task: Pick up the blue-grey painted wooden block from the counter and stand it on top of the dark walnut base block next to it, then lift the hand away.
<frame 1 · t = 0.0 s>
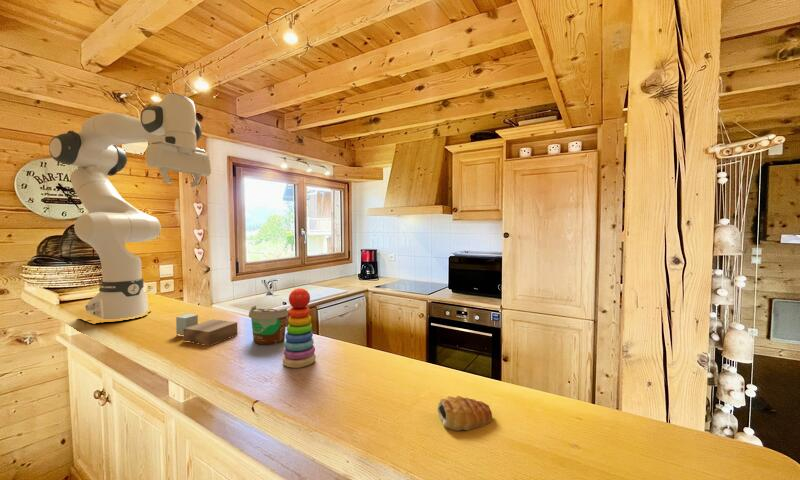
hand: (181, 185, 108), 48 cm above the worktop, tool pointing down, fingers open, 8 cm apart
walnut base: (211, 338, 97), on the worktop
blue-grey block: (187, 334, 101), on the worktop
pastry: (461, 421, 57), on the worktop
stacking toy: (299, 363, 80), on the worktop
food container: (264, 343, 94), on the worktop
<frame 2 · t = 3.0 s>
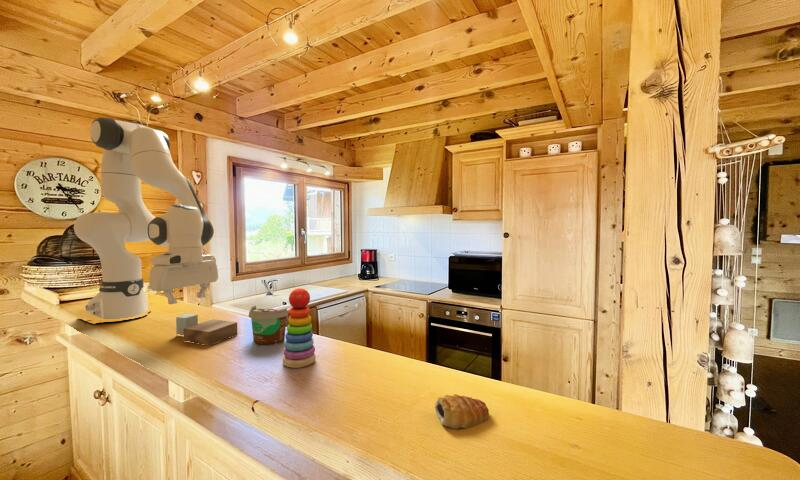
hand: (187, 300, 100), 11 cm above the worktop, tool pointing down, fingers open, 8 cm apart
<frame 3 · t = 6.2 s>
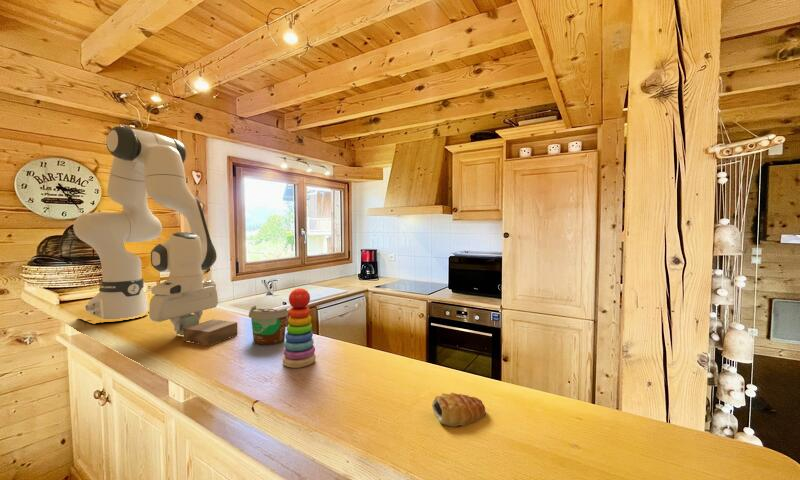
hand: (187, 328, 100), 2 cm above the worktop, tool pointing down, fingers closed on blue-grey block, 4 cm apart
blue-grey block: (187, 334, 101), on the worktop, touching gripper
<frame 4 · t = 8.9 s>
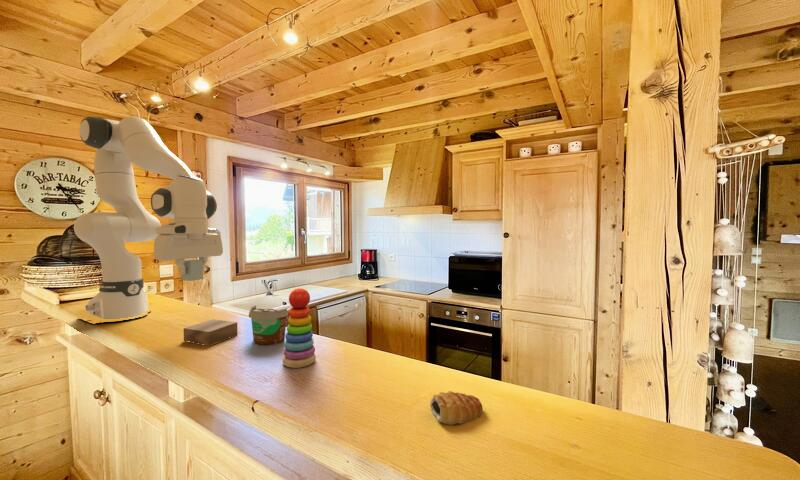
hand: (192, 272, 99), 20 cm above the worktop, tool pointing down, fingers closed on blue-grey block, 4 cm apart
blue-grey block: (192, 279, 99), point 18 cm above the worktop, touching gripper
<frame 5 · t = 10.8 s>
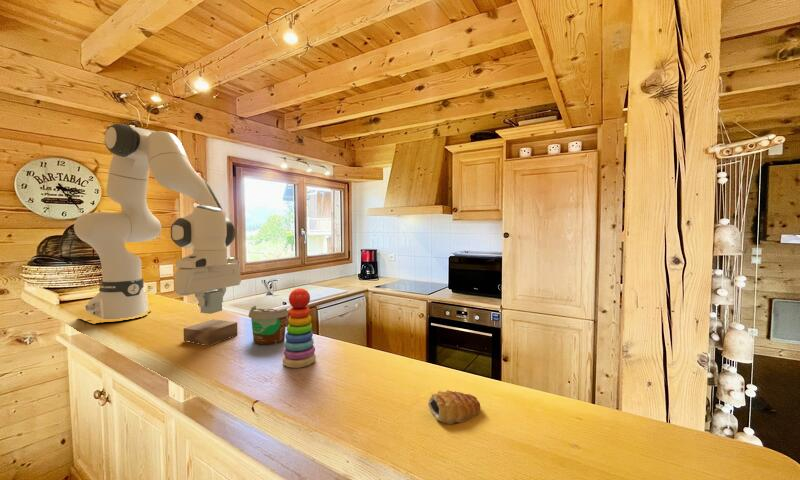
hand: (211, 304, 97), 10 cm above the worktop, tool pointing down, fingers closed on blue-grey block, 4 cm apart
blue-grey block: (211, 311, 97), point 8 cm above the worktop, touching gripper
when the fingers open (7 cm above the worktop, at t = 12.1 s): blue-grey block stays where it is, resting on walnut base.
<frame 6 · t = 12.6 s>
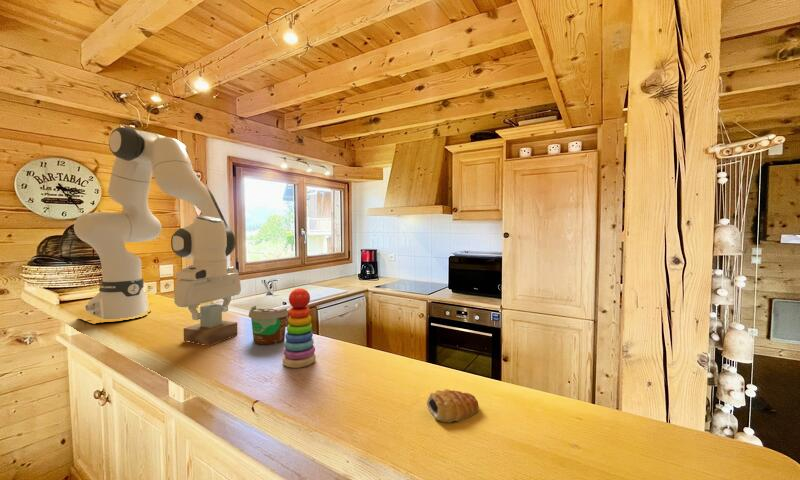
hand: (211, 315, 97), 7 cm above the worktop, tool pointing down, fingers open, 8 cm apart
blue-grey block: (211, 325, 97), point 4 cm above the worktop, touching walnut base
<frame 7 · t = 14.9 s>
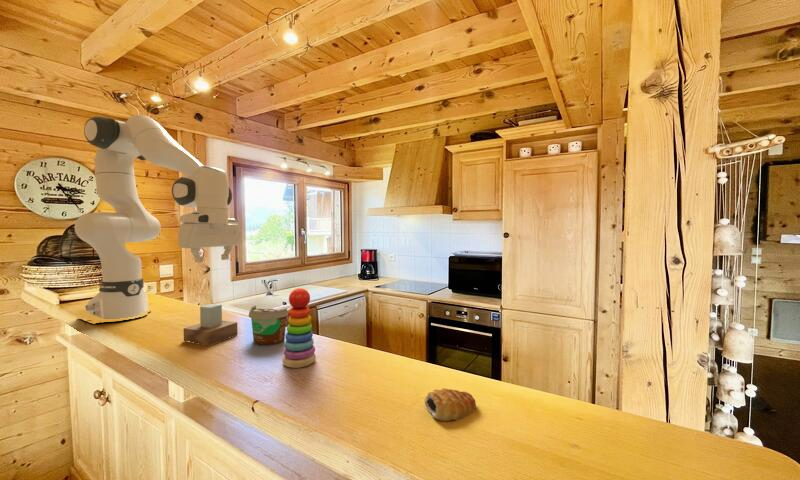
hand: (212, 261, 102), 23 cm above the worktop, tool pointing down, fingers open, 8 cm apart
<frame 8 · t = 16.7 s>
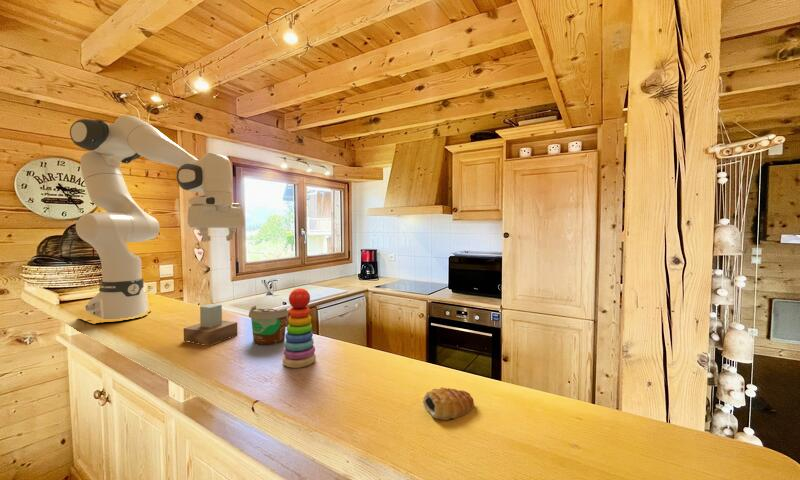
hand: (218, 241, 111), 29 cm above the worktop, tool pointing down, fingers open, 8 cm apart
at the end: blue-grey block inside the target area on the walnut base (0.0 cm from its centre), point 4.0 cm above the walnut base's base; blue-grey block tilted 0°; the gripper is holding nothing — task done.
